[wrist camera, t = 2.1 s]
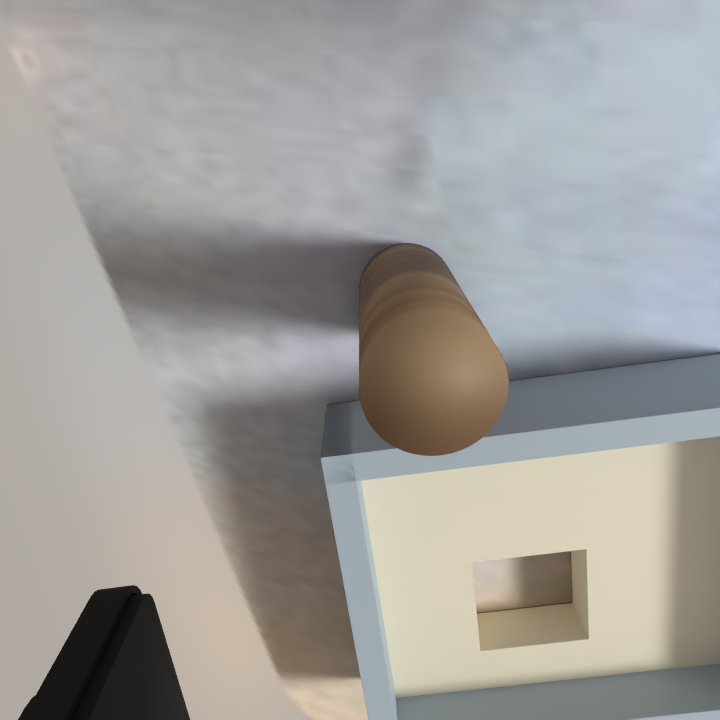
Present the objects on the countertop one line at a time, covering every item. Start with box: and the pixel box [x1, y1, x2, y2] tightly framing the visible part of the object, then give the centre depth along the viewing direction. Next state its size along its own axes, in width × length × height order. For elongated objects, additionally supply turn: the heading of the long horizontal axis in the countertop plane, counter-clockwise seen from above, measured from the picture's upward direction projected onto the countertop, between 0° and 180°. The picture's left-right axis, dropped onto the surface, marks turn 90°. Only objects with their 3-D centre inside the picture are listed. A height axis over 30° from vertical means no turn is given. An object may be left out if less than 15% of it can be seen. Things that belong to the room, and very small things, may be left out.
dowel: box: [359, 243, 509, 456], centre depth 22 cm, size 4×4×11 cm
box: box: [321, 354, 720, 720], centre depth 29 cm, size 16×18×5 cm
